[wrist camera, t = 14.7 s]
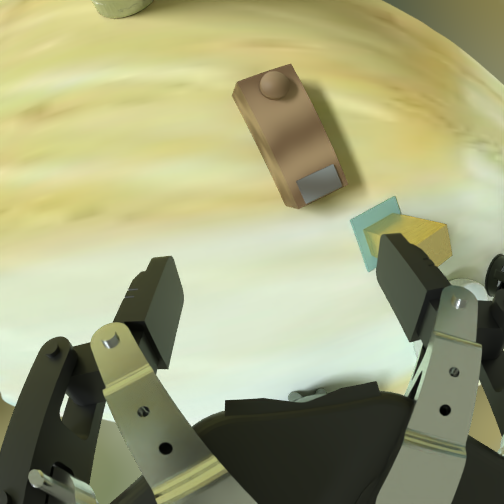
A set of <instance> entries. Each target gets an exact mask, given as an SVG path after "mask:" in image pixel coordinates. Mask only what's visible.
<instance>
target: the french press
mask: <svg viewBox="0 0 504 504" xmlns="http://www.w3.org/2000/svg"><path fill="white" fill-rule="evenodd" d="M503 266H504V255H502V254H498V255H497V256H495V257H494V259H493V260H492V262H491V264H490V266H489V268H488V271H487V275H486V280H485V289H486V292H487V294H488V295H489V296H493V297H494V296H495V293H496V292H497V291H498V290H500V289H504V272H502V271H501V270H502V268H503ZM498 280H499V281H502V282H501V284H500V286H499V287H498V288H497V283H498Z"/></svg>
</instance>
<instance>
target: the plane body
mask: <svg viewBox="0 0 504 504" xmlns="http://www.w3.org/2000/svg"><path fill="white" fill-rule="evenodd" d="M232 97H233V99H234V101H235V103H236V104H237V106H238V108H239V110H240V112H241V114H242V116H243V118H244V120H245V122H246V124H247V126H248V128H249V130H250V132H251V134H252V136H253V138H254V140H255V142H256V144H257V146H258V148H259V150H260V152H261V154H262V156H263V158H264V161H265V163H266V165H267V167H268V169H269V171H270V173H271V175H272V177H273V179H274V182H275V184H276V186H277V188H278V190H279V192H280V194H281V197H282V199H283V201H284V203H285V205H286V206H289V207H293V208H297V209H300V208H302V207H304V206H306V205H308V204H310V203H312V202H314V201H316V200H318V199H320V198H322V197H324V196H326V195H328V194H330V193H332V192H334V191H336V190H338V189H340V188H342V187H344V186H346V185H348V183H347V180H346V178H345V175H344V173H343V170H342V168H341V165H340V163H339V161H338V158H337V156H336V154H335V151H334V149H333V147H332V145H331V142H330V140H329V138H328V136H327V134H326V131H325V129H324V127H323V125H322V123H321V121H320V119H319V117H318V114H317V112H316V110H315V108H314V106H313V104H312V102H311V100H310V98H309V96H308V94H307V93H306V91H305V89H304V87H303V85H302V83H301V81H300V79H299V77H298V76H297V74H296V72H295V70H294V68H293V66H292V65H291V64H288V65H285V66H282V67H278V68H275V69H272V70H269V71H266V72H263V73H260V74H258V75H255V76H252V77H249V78H246V79H244V80H241V81H238V82H237V83H236V86H235V89H234V91H233V94H232Z"/></svg>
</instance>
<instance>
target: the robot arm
mask: <svg viewBox="0 0 504 504" xmlns="http://www.w3.org/2000/svg"><path fill="white" fill-rule="evenodd" d="M91 1H92V3H93V4H94V6H95V8H96V9H97V11H98V12H99V13H100V14H101V15H103V16H104V17H108V18H122V17H126V16H130V15H132V14H135V13H137V12H139V11H141V10H143V9H144V8H145V7H147V6H148V5H149V4H150V3H151V2H152V1H153V0H91ZM376 276H377V280H378V283H379V285H380V287H381V289H382V290H383V292H384V294H385V296H386V298H387V300H388V301H389V303H390V305H391V307H392V309H393V311H394V313H395V315H396V316H397V318H398V320H399V322H400V324H401V326H402V328H403V330H404V332H405V334H406V336H407V338H408V340H409V342H414V341H418V340H421V341H422V343H423V344H422V346H421V349H420V352H419V355H418V358H417V362H416V365H415V368H414V371H413V374H412V377H411V380H410V382H409V385H408V388H407V390H406V393H405V395H404V396H403V395H401V394H397V393H392V392H385V391H379V388H378V385H377V382H376V381H375V382H370V383H366V384H361V385H356V386H351V387H345V388H341V389H338V390H336V391H333V392H331V393H328V394H326V395H323V396H321V397H318V398H316V399H313V400H310V401H307V402H291V401H282V400H274V399H266V398H258V399H243V400H225V411H222V412H218V413H216V414H213V415H210V416H208V417H206V418H204V419H202V420H201V421H199V422H198V423H196V424H195V425H193V426H192V427H191V425H190V424H189V423H188V421H187V420H186V419H185V417H184V416H183V414H182V413H181V412H180V410H179V409H178V407H177V406H176V404H175V403H174V402H173V400H172V399H171V397H170V396H169V394H168V393H167V391H166V390H165V388H164V387H163V385H162V384H161V382H160V380H159V379H158V377H157V376H156V372H157V369H168V368H169V364H170V359H171V354H172V350H173V345H174V341H175V337H176V332H177V328H178V324H179V320H180V315H181V311H182V307H183V303H184V294H183V288H182V285H181V282H180V279H179V275H178V272H177V269H176V265H175V262H174V259H173V257H172V256H165V257H155V258H152V259H151V261H150V263H149V265H148V267H147V270H146V271H143V272H141V273H139V274H138V275H137V276H136V277H135V278H134V279H133V281H132V283H131V285H130V287H129V289H128V290H129V291H127V293H126V295H125V298H124V299H123V301H122V303H121V305H120V308H119V310H118V312H117V314H116V316H115V318H114V321H113V323H109V324H107V325H104V326H103V327H101V328H100V329H98V330H97V331H96V332H95V333H94V335H93V336H92V339H91V342H90V343H86V344H82V345H78V346H74V347H73V346H72V345H71V343H70V342H69V340H68V339H67V338H65V337H55V338H53V339H51V340H49V341H47V342H46V343H45V344H44V345H43V346H42V348H41V349H40V351H39V353H38V355H37V357H36V359H35V361H34V364H33V366H32V368H31V370H30V372H29V375H28V377H27V379H26V381H25V384H24V386H23V389H22V391H21V393H20V396H19V398H18V401H17V404H16V406H15V409H14V412H13V414H12V417H11V420H10V423H9V426H8V429H7V431H6V435H5V438H4V441H3V444H2V448H1V451H0V504H99V503H98V502H97V500H96V497H95V494H94V492H93V490H92V488H91V487H90V486H89V483H90V477H91V471H92V465H93V459H94V453H95V448H96V443H97V438H98V433H99V429H100V424H101V420H102V416H103V411H104V407H105V403H106V401H107V404H108V406H109V408H110V411H111V413H112V415H113V418H114V420H115V422H116V424H117V426H118V428H119V430H120V432H121V434H122V437H123V438H124V441H125V443H126V445H127V447H128V448H129V450H130V452H131V454H132V456H133V458H134V460H135V462H136V463H137V465H138V467H139V469H140V470H141V472H142V475H141V476H140V477H139V478H138V479H137V480H136V481H135V482H134V483H133V484H131V485H130V487H128V488H127V489H126V490H125V491H124V492H123V493H121V494H120V495H119V496H118V497H117V498H116V499H114V500H113V501H112V502H111V503H110V504H504V351H503V349H504V289H500V290H498V291H497V292H496V293H495V296H494V298H493V300H492V301H483V300H477V298H476V296H475V295H474V294H473V293H472V292H471V291H470V290H468V289H466V288H464V287H461V286H456V285H451V283H450V282H449V281H448V280H447V278H446V277H445V276H444V275H443V273H442V272H441V271H440V270H439V269H438V267H437V266H435V264H434V262H433V261H432V260H431V259H429V257H428V255H427V254H426V253H425V252H424V251H423V250H422V249H421V248H419V247H417V246H416V245H414V244H410V243H409V242H408V241H407V239H406V238H405V237H404V236H403V235H402V234H401V233H390V234H382V235H381V237H380V243H379V251H378V259H377V266H376ZM479 380H480V382H481V385H482V387H483V389H484V391H485V394H486V396H487V399H488V401H489V403H490V406H491V408H492V411H493V414H494V416H495V418H496V421H497V424H498V427H499V429H500V433H501V436H502V440H501V448H500V449H499V450H498V452H495V451H494V450H492V449H490V448H489V447H487V446H485V445H484V444H482V443H480V442H479V441H477V440H476V439H474V438H473V437H471V436H469V435H468V433H469V429H470V425H471V420H472V416H473V411H474V406H475V400H476V394H477V388H478V382H479ZM65 393H66V394H67V395H68V396H69V398H68V402H67V405H66V408H65V411H64V415H63V418H62V421H61V419H60V408H61V404H62V401H63V398H64V395H65Z"/></svg>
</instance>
